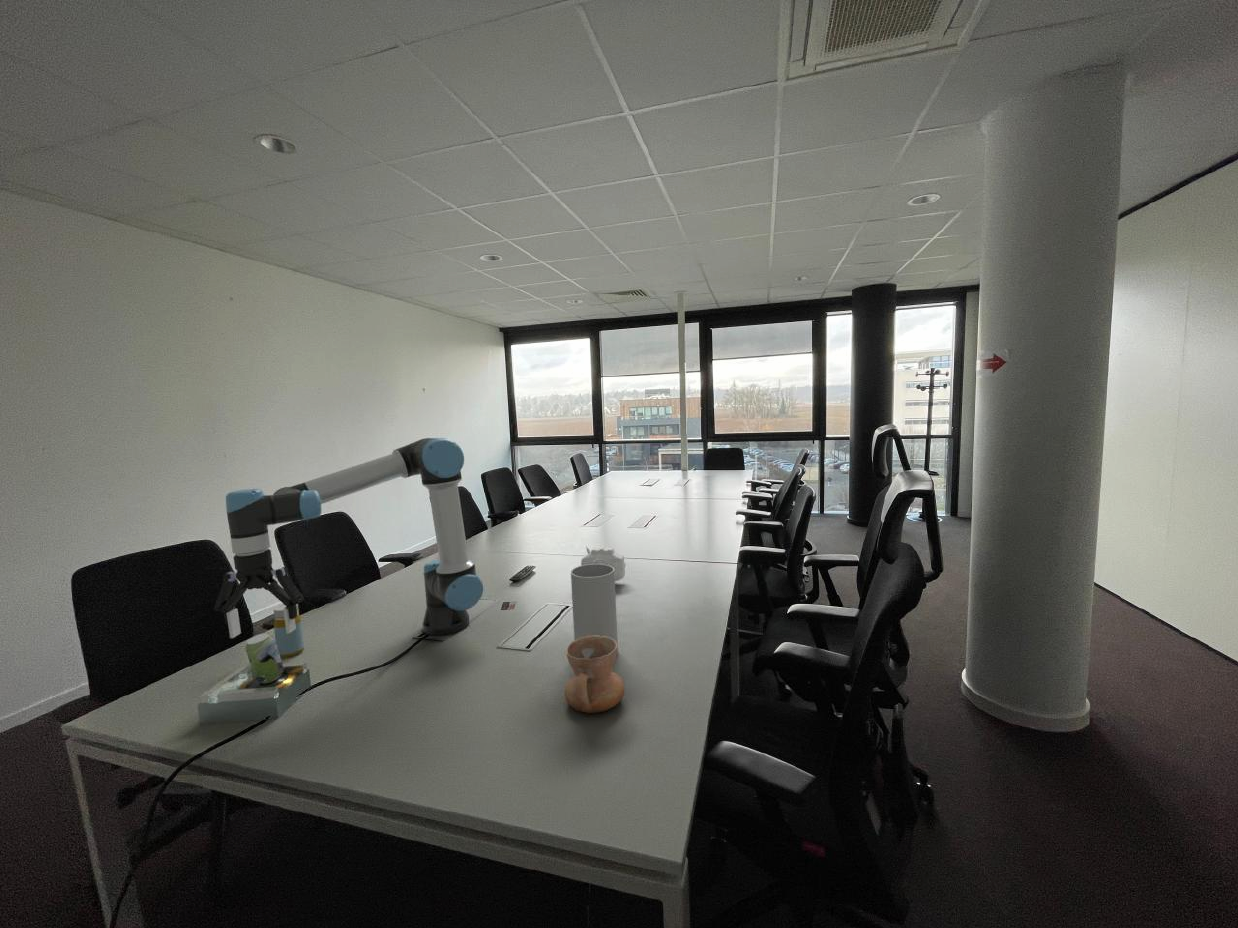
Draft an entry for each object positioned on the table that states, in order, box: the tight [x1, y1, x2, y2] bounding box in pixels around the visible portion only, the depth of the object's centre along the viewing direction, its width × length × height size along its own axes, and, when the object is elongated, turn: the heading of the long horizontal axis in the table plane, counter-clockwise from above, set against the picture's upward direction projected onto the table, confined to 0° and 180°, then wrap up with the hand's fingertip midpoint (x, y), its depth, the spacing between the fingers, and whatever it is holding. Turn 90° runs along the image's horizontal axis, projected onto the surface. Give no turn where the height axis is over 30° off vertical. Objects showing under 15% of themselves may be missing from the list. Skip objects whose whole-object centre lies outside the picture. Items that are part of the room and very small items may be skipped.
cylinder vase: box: [570, 564, 619, 659], centre depth 143 cm, size 12×12×25 cm
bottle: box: [273, 603, 305, 659], centre depth 153 cm, size 7×7×15 cm
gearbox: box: [197, 662, 312, 725], centre depth 125 cm, size 18×14×7 cm
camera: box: [580, 545, 626, 582], centre depth 203 cm, size 11×18×16 cm, turn 80°
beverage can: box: [245, 632, 284, 684], centre depth 125 cm, size 6×7×12 cm
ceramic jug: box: [564, 635, 626, 714], centre depth 118 cm, size 18×14×14 cm
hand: (263, 633), depth 125 cm, fingers open, 13 cm apart
